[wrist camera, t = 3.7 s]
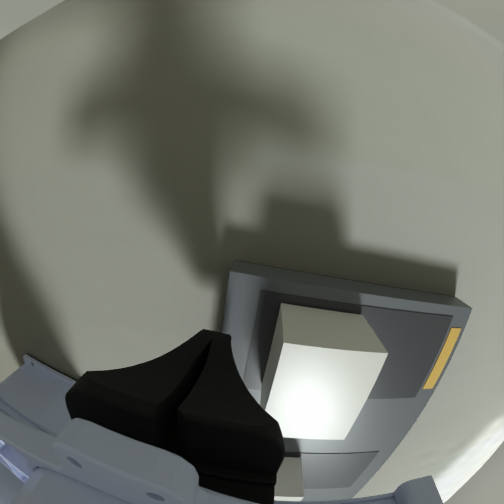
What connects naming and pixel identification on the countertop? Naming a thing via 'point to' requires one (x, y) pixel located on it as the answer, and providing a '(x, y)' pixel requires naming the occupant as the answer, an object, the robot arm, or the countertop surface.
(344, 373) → the tab
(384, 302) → the switch panel
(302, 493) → the tab middle
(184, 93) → the countertop surface
